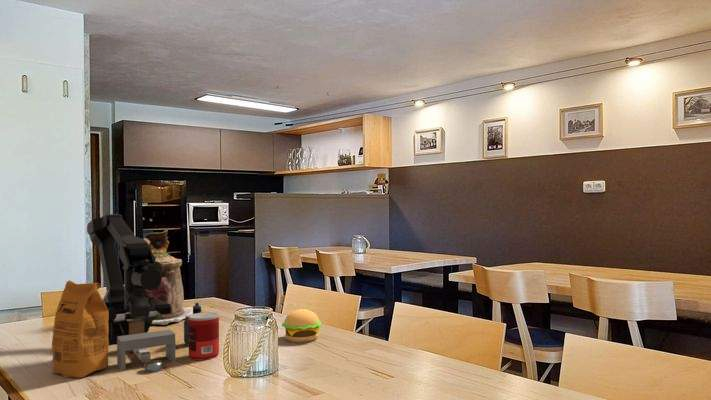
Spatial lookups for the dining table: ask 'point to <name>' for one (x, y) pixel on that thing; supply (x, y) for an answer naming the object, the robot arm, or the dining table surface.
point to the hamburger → (301, 326)
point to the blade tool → (138, 328)
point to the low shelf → (145, 344)
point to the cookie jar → (167, 280)
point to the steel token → (153, 366)
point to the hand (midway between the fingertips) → (135, 341)
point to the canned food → (203, 335)
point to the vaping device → (186, 330)
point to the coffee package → (80, 331)
